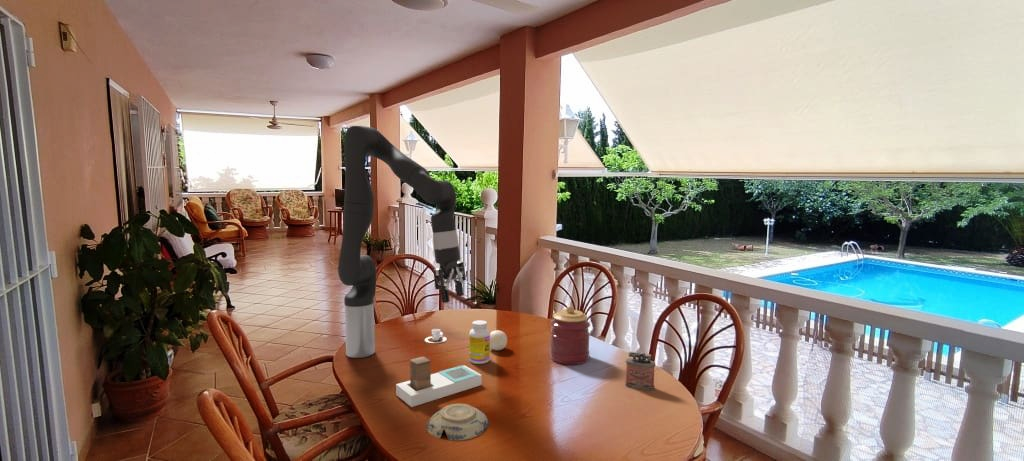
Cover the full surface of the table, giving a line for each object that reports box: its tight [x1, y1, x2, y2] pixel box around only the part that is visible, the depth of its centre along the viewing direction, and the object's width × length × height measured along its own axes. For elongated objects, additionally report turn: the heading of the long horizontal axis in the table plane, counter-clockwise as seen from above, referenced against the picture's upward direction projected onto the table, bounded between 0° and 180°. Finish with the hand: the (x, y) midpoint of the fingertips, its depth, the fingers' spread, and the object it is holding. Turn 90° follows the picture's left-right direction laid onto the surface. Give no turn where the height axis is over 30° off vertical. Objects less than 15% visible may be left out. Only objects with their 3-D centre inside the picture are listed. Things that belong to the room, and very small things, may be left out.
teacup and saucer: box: [424, 328, 447, 344], centre depth 175 cm, size 9×8×4 cm
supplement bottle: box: [468, 319, 491, 365], centre depth 154 cm, size 7×7×13 cm
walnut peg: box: [409, 356, 432, 391], centre depth 129 cm, size 4×4×10 cm
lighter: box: [624, 351, 656, 391], centre depth 135 cm, size 8×3×10 cm, turn 71°
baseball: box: [490, 329, 508, 351], centre depth 165 cm, size 7×7×7 cm
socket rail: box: [395, 364, 483, 408], centre depth 133 cm, size 9×22×3 cm, turn 128°
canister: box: [549, 305, 591, 365], centre depth 157 cm, size 13×13×18 cm
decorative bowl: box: [426, 403, 490, 441], centre depth 115 cm, size 15×4×15 cm
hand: (453, 299), depth 145 cm, fingers open, 8 cm apart
